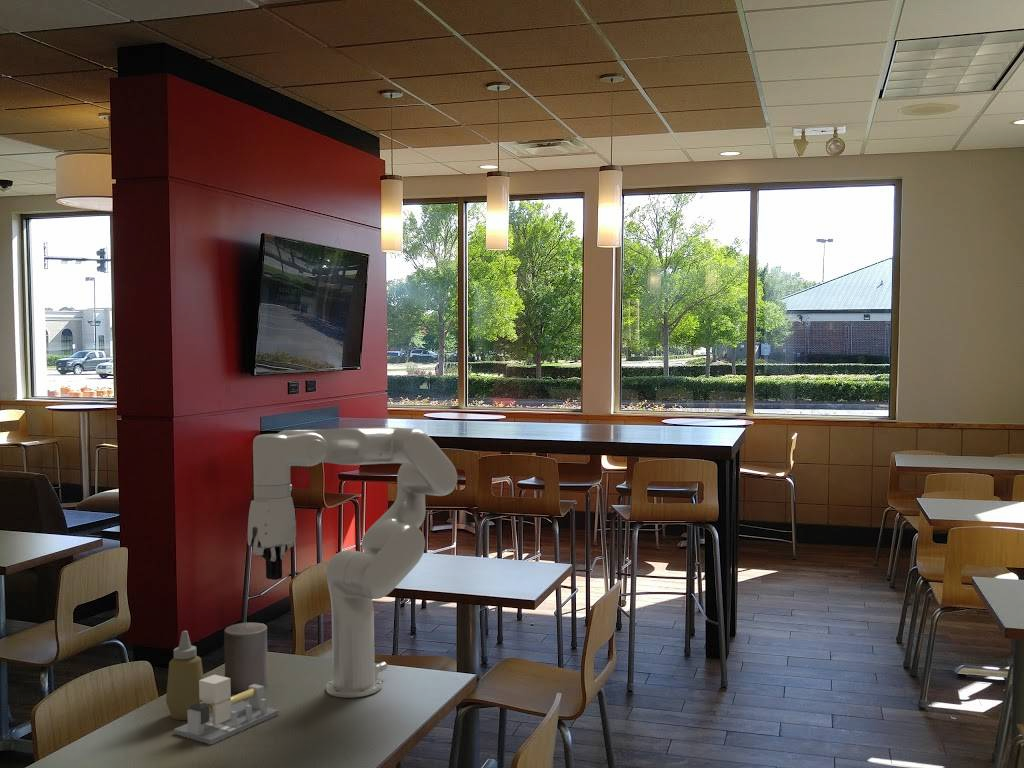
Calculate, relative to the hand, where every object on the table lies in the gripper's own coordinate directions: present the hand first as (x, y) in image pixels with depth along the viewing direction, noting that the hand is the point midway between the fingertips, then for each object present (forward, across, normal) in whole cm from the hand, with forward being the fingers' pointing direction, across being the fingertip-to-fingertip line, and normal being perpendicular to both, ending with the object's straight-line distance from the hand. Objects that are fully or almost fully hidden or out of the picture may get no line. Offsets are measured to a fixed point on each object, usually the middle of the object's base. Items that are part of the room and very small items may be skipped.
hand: (274, 578), depth 197 cm
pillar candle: (+29, -9, -19) cm, 36 cm away
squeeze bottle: (+29, +10, -16) cm, 35 cm away
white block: (+27, +12, -5) cm, 30 cm away
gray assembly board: (+29, +9, -5) cm, 31 cm away
